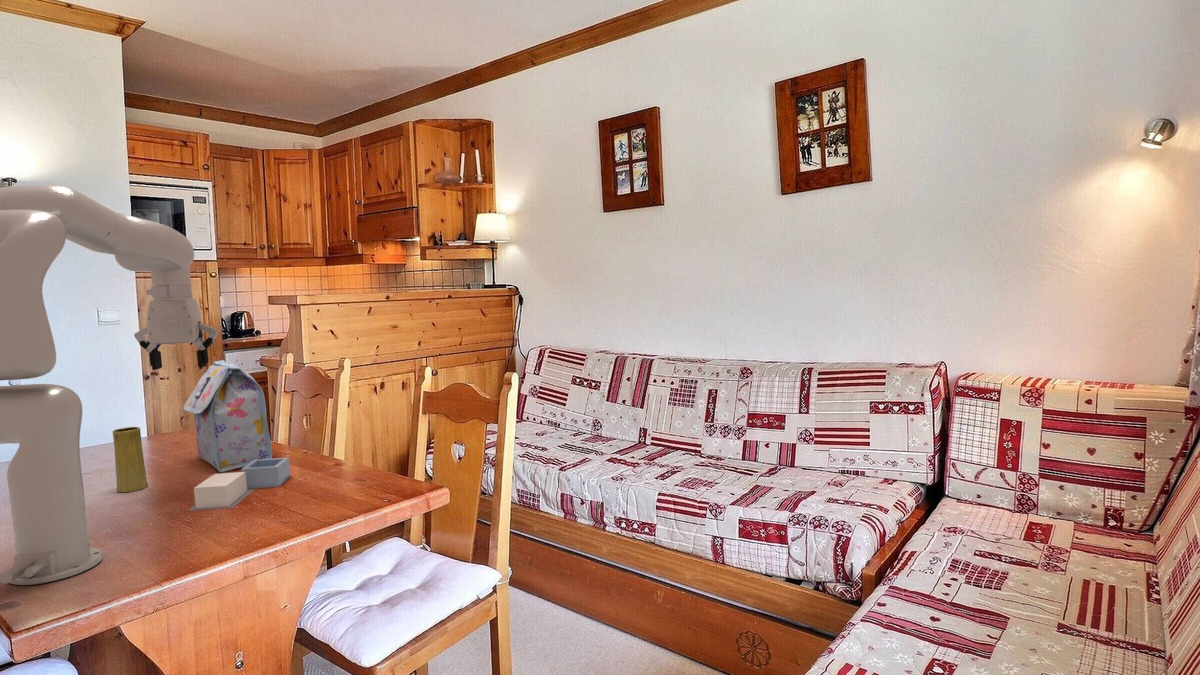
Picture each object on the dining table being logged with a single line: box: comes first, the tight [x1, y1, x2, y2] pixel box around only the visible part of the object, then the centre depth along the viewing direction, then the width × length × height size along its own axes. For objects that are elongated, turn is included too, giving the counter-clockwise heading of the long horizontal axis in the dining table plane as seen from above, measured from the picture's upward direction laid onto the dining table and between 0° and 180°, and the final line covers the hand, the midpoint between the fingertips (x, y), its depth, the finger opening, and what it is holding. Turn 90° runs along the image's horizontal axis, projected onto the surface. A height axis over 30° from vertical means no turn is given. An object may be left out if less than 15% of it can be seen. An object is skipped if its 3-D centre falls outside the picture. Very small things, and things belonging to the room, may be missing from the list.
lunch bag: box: [182, 359, 273, 473], centre depth 177 cm, size 22×17×26 cm
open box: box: [240, 457, 291, 490], centre depth 156 cm, size 8×8×5 cm
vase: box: [112, 426, 149, 494], centre depth 156 cm, size 6×6×14 cm
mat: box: [187, 488, 256, 512], centre depth 145 cm, size 12×9×1 cm
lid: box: [193, 471, 248, 509], centre depth 145 cm, size 10×6×4 cm, turn 8°
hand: (180, 367), depth 153 cm, fingers open, 9 cm apart
